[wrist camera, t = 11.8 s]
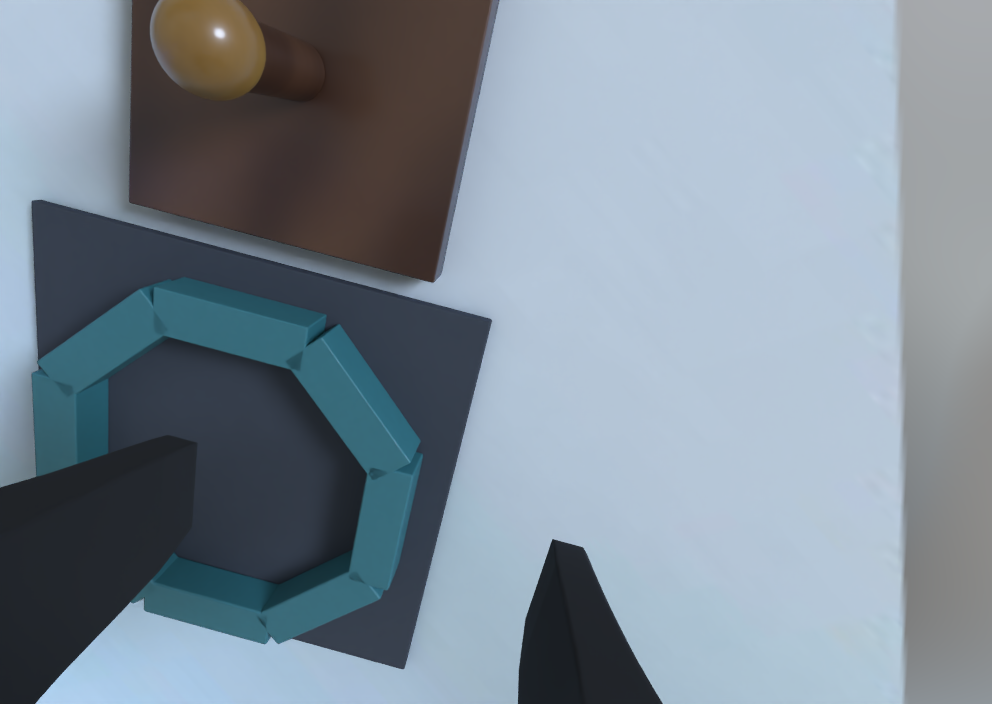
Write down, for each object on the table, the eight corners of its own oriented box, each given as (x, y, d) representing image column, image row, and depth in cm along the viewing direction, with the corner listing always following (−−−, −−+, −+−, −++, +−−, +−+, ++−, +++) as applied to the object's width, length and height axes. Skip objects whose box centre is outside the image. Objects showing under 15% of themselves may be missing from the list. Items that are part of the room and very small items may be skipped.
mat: (54, 564, 25) (46, 571, 25) (41, 199, 20) (30, 200, 19) (406, 662, 25) (403, 670, 25) (492, 319, 19) (490, 322, 19)
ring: (72, 556, 24) (40, 583, 23) (65, 244, 20) (24, 252, 18) (381, 642, 24) (369, 674, 23) (448, 346, 19) (438, 362, 18)
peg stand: (153, 199, 19) (-45, 223, 13) (164, -164, 16) (-97, -372, 10) (441, 275, 19) (382, 336, 13) (515, -75, 16) (486, -227, 9)
